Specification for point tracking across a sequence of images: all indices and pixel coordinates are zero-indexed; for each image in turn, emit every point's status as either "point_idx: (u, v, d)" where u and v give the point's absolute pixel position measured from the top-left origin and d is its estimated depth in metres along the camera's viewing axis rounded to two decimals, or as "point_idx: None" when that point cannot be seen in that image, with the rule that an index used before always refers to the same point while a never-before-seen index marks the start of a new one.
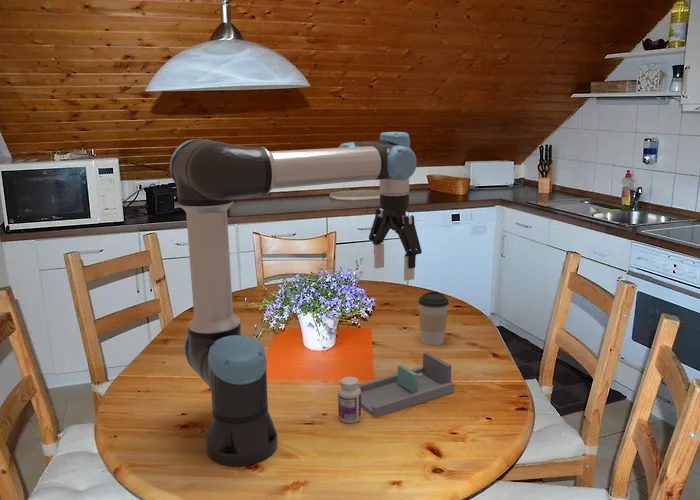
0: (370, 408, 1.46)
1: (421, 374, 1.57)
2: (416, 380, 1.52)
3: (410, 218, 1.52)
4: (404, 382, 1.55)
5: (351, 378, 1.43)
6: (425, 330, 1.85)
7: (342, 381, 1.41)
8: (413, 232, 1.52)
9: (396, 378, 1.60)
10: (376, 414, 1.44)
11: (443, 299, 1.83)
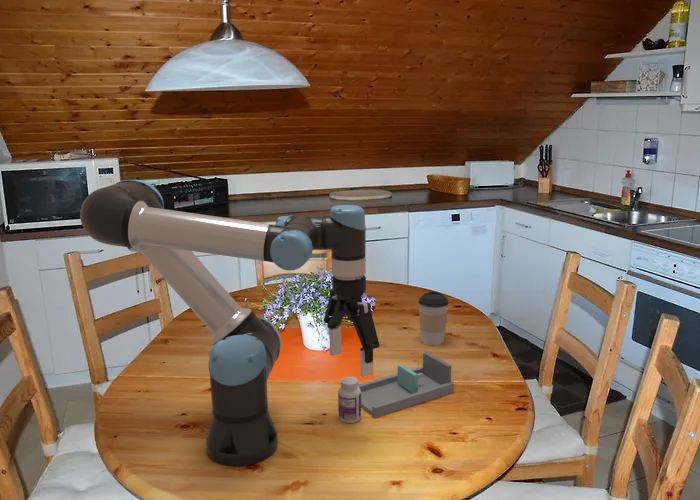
0: (370, 408, 1.46)
1: (421, 374, 1.57)
2: (416, 380, 1.52)
3: (366, 306, 1.31)
4: (404, 382, 1.55)
5: (351, 378, 1.43)
6: (425, 330, 1.85)
7: (342, 381, 1.41)
8: (369, 323, 1.31)
9: (396, 378, 1.60)
10: (376, 414, 1.44)
11: (443, 299, 1.83)
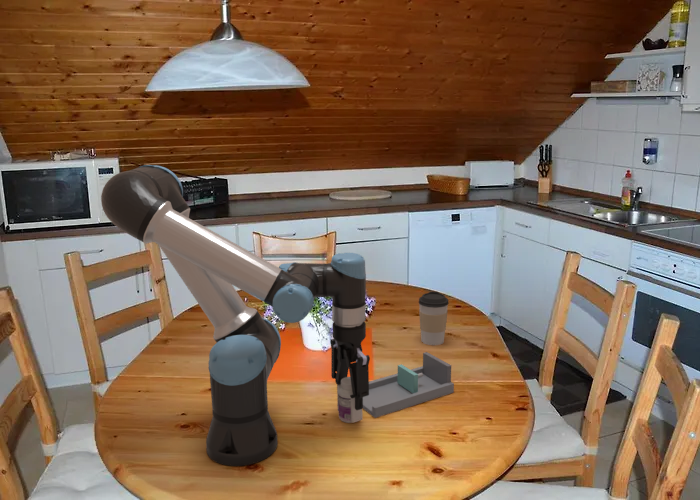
0: (370, 408, 1.46)
1: (421, 374, 1.57)
2: (416, 380, 1.52)
3: (365, 360, 1.34)
4: (404, 382, 1.55)
5: None
6: (425, 330, 1.85)
7: (342, 381, 1.41)
8: (365, 374, 1.36)
9: (396, 378, 1.60)
10: (376, 414, 1.44)
11: (443, 299, 1.83)
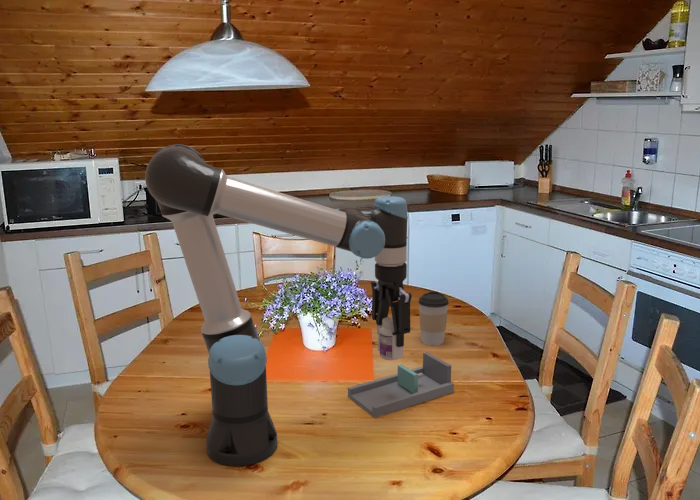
0: (370, 408, 1.46)
1: (421, 374, 1.57)
2: (416, 380, 1.52)
3: (407, 297, 1.41)
4: (404, 382, 1.55)
5: (392, 318, 1.49)
6: (425, 330, 1.85)
7: (384, 320, 1.48)
8: (406, 311, 1.42)
9: (396, 378, 1.60)
10: (376, 414, 1.44)
11: (443, 299, 1.83)
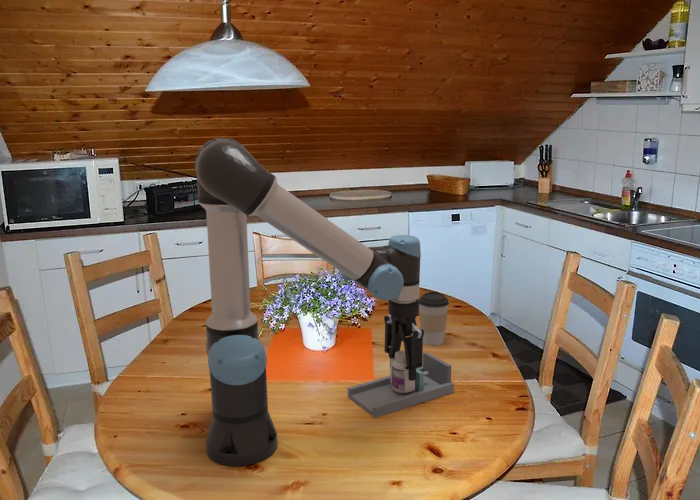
0: (370, 408, 1.46)
1: (426, 372, 1.58)
2: (422, 378, 1.53)
3: (420, 334, 1.45)
4: None
5: (404, 351, 1.53)
6: (425, 330, 1.85)
7: (396, 354, 1.52)
8: (419, 347, 1.47)
9: None
10: (376, 414, 1.44)
11: (443, 299, 1.83)
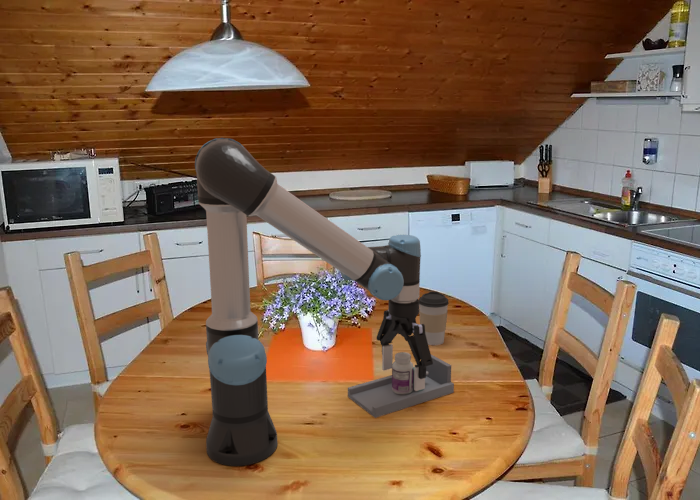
0: (370, 408, 1.46)
1: (426, 372, 1.58)
2: None
3: (421, 327, 1.45)
4: None
5: (404, 353, 1.54)
6: (425, 330, 1.85)
7: (396, 356, 1.52)
8: (424, 342, 1.45)
9: None
10: (376, 414, 1.44)
11: (443, 299, 1.83)
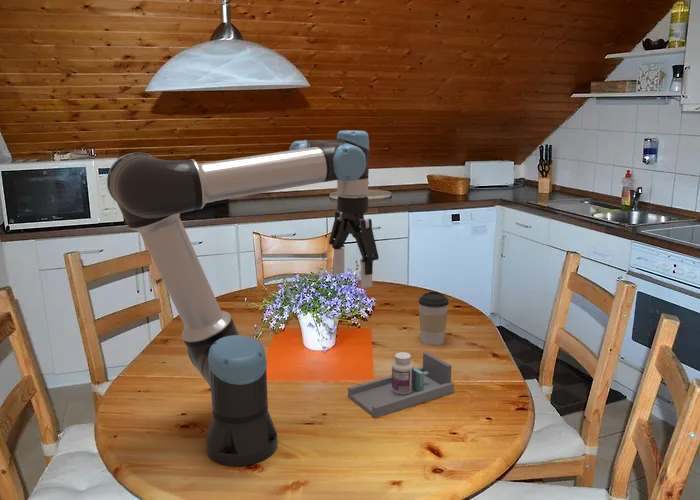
0: (370, 408, 1.46)
1: (426, 372, 1.58)
2: (422, 378, 1.53)
3: (367, 221, 1.44)
4: None
5: (404, 353, 1.54)
6: (425, 330, 1.85)
7: (396, 356, 1.52)
8: (370, 237, 1.44)
9: None
10: (376, 414, 1.44)
11: (443, 299, 1.83)
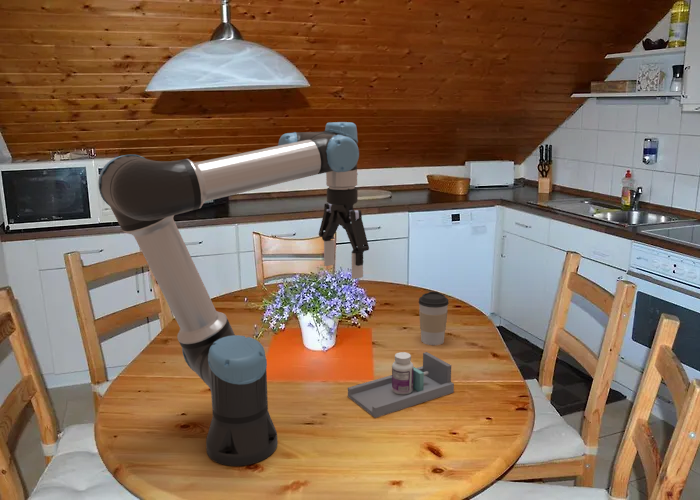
0: (370, 408, 1.46)
1: (426, 372, 1.58)
2: (422, 378, 1.53)
3: (357, 212, 1.44)
4: None
5: (404, 353, 1.54)
6: (425, 330, 1.85)
7: (396, 356, 1.52)
8: (360, 227, 1.44)
9: None
10: (376, 414, 1.44)
11: (443, 299, 1.83)
